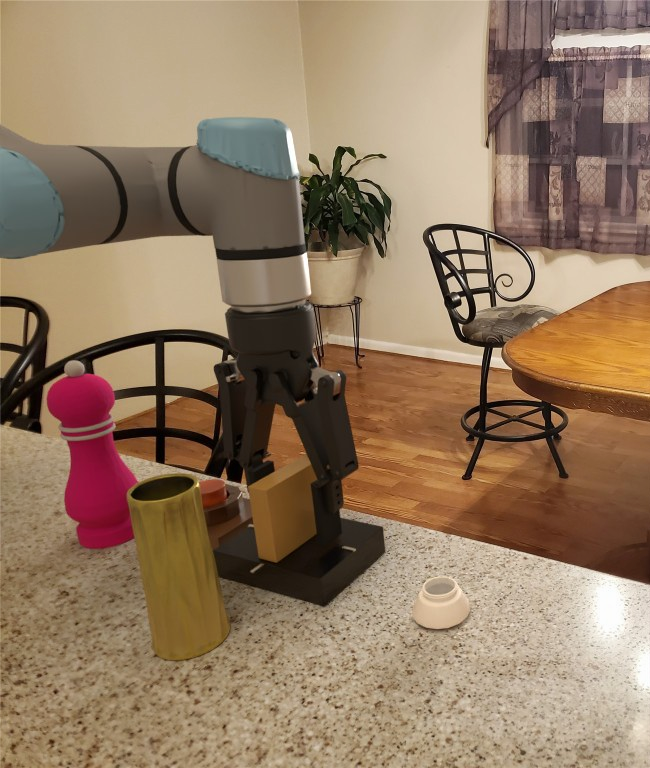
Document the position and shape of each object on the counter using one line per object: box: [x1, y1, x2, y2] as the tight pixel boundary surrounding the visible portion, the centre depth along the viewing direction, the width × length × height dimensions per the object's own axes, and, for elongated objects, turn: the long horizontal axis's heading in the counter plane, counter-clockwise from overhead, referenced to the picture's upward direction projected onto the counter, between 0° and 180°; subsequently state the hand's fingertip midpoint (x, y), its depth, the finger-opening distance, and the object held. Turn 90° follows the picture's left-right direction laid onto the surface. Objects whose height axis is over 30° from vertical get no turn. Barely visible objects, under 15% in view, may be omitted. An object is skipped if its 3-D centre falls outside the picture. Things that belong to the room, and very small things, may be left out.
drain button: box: [199, 478, 227, 507], centre depth 75 cm, size 4×4×2 cm
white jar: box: [412, 575, 471, 630], centre depth 60 cm, size 5×3×5 cm
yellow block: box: [247, 452, 329, 563], centre depth 67 cm, size 9×2×8 cm, turn 156°
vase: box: [127, 472, 231, 661], centre depth 57 cm, size 6×6×14 cm
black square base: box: [213, 507, 386, 607], centre depth 69 cm, size 13×13×3 cm
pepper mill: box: [46, 359, 139, 550], centre depth 73 cm, size 7×7×20 cm
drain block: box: [203, 483, 254, 550], centre depth 76 cm, size 10×8×4 cm
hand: (299, 531), depth 68 cm, fingers open, 7 cm apart
